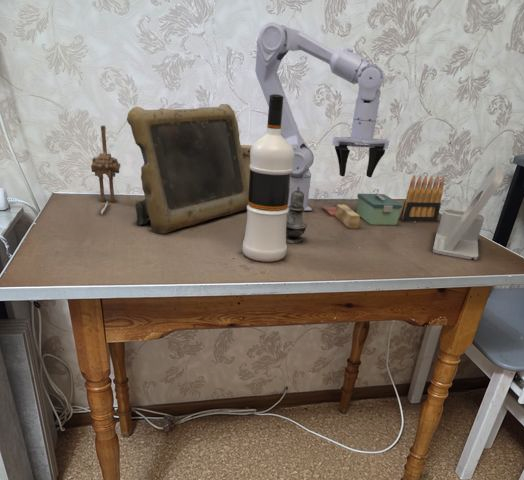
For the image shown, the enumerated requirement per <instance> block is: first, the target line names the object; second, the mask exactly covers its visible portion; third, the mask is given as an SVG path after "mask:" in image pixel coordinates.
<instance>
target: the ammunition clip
mask: <svg viewBox="0 0 524 480" xmlns="http://www.w3.org/2000/svg"><path fill="white" fill-rule="evenodd" d="M439 179H440V178H439V175H437V176H436V177H435V179H434V177H433V175H431V176H430V178H429V179H428V177H427V175H425V176H424V178H423V180H422V175H421V174H420V175H419V176H418V178H417V180H416V175H413V176H412V178H411V180H410V183H409V187H408V190H407V193H406V197H405V200H404V202H403V204H402V208H401V213H400V216H399V220H401V221H402V222H438V219H439V214H440V210H441V205H442V202H441V201H442V197H443V192H444V186H445V179H446V177H445V175H443V176H442V177H441V179H440V180H439Z"/></svg>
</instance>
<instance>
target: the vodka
mask: <svg viewBox="0 0 524 480" xmlns="http://www.w3.org/2000/svg"><path fill="white" fill-rule="evenodd" d="M269 97H270V98H269V106H268V111H267V112H268V113H267V125H266V127H267V128H266V133H265V134H263V136H262V137H260V138H259V139H257V140H256V141H254V142H253V143H252V145H251V146H252V147H251V149H250V165H249V167H250V179H249V196H248V205H247V210H246V215H247V216H246V223H245V232H244V239H243V241H242V245H241V247H242V248H241V250H242V253H243V255H244V256H245V257H247V258H248V259H250V260H253V261H256V262H262V263H273V262H278V261H280V260H282V259H284V258H285V257H286V255H287V250H288V245H287V242H286V221H287V220H288V215H289V210H288V200H289V190H290V180H291V172H292V170H293V168H292V165H293V160H294V150H293V148H292V146H291V145H290V144H289V143H288V142H287V141H286V140H285V139H284V138H283V137H282V136H281V122H282V109H283V99H284V97H283V96H281V95H278V94H273V95H270V96H269Z"/></svg>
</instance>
